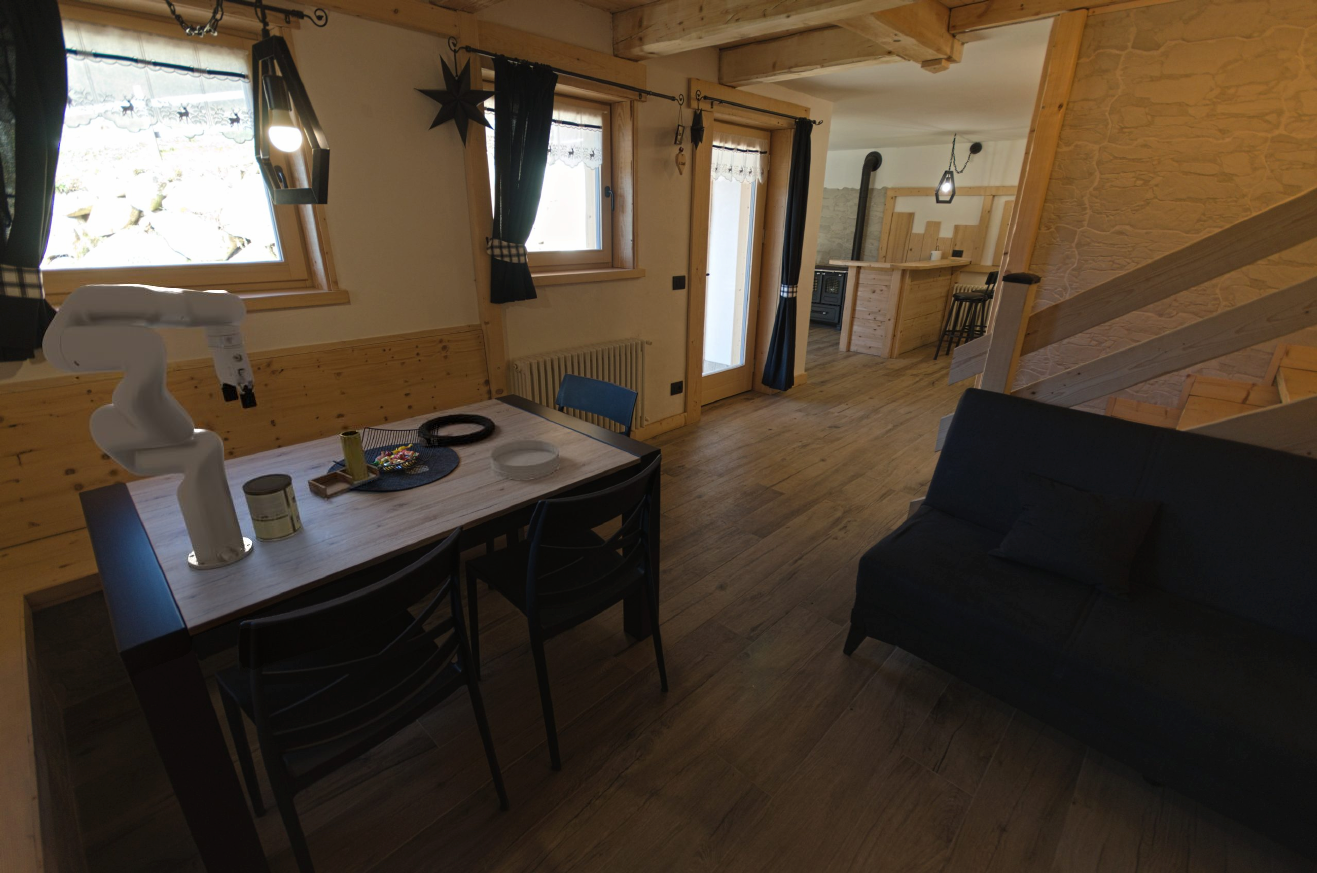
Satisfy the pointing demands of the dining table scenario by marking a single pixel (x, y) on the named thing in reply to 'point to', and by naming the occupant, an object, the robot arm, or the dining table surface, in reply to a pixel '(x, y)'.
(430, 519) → the dining table surface
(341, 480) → the wooden compartment tray
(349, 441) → the vase
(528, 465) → the dish
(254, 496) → the coffee can
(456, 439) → the cable lock
